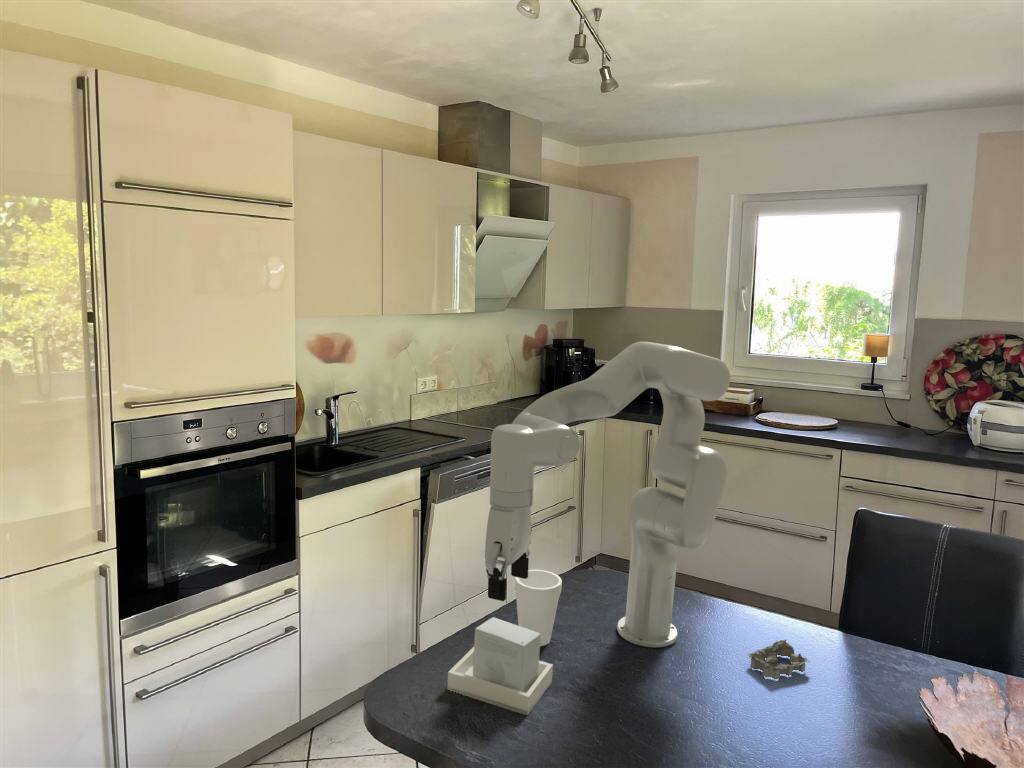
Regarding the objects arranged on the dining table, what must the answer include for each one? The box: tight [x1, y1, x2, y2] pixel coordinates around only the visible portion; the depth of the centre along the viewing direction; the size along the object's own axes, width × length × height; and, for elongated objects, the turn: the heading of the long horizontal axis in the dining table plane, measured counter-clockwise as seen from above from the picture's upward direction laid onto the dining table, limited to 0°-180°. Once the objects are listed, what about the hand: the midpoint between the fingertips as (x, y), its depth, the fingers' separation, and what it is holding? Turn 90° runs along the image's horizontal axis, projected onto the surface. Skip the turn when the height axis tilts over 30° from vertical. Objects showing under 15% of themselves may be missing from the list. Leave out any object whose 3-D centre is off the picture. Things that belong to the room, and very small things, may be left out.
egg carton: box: [747, 639, 811, 679], centre depth 145 cm, size 11×8×4 cm
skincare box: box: [473, 616, 541, 693], centre depth 132 cm, size 10×6×10 cm, turn 58°
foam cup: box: [514, 569, 563, 647], centre depth 151 cm, size 10×9×13 cm
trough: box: [447, 646, 554, 716], centre depth 134 cm, size 12×16×4 cm
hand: (508, 587), depth 131 cm, fingers open, 9 cm apart
